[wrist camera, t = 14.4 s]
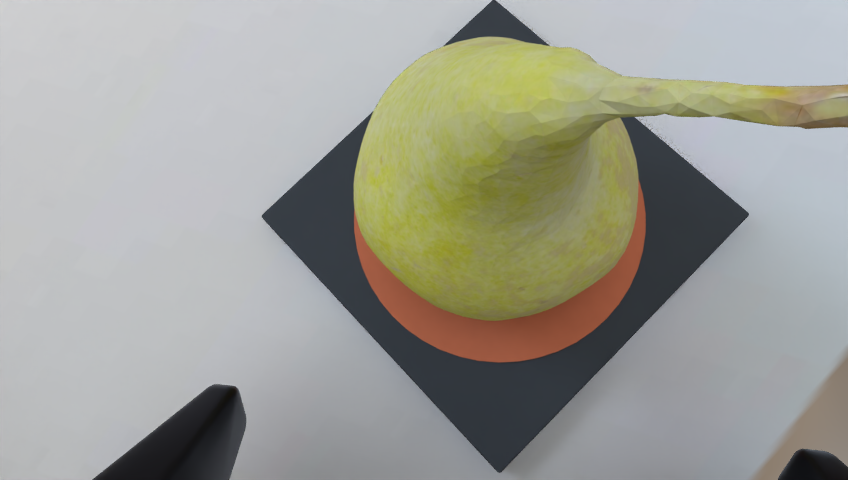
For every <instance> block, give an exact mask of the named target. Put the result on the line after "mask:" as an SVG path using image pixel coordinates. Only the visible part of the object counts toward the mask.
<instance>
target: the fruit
mask: <svg viewBox="0 0 848 480" xmlns="http://www.w3.org/2000/svg"><path fill="white" fill-rule="evenodd" d="M661 114H668V115H673V116H680V117H712V116H715V117H721V118H727V119H734V120H740V121H746V122H753V123H760V124H767V125H774V126H792V127H802V128H805V129H811V128H830V127H848V85H832V86H788V87H784V86H759V85H742V84H735V83H728V82H712V81H695V80H668V79H655V78H642V77H627V76H622V75H620V74H618V73H616V72H614V71H612V70H610V69H608V68H605V67H603V66H601V65H599V64H598V63H596V62H595V61H594V60H593V59H592V58H591V57H590V56H589V55H587V54H586V53H584V52H582V51H580V50H578V49H574V48H571V47H567V48H559V47H552V46H546V45H542V44H534V43H526V42H523V41H519V40H516V39H511V38H504V37H478V38H474V39H469V40H464V41H459V42H456V43H453V44H450V45H446V46H443V47H441V48H439V49H436V50H434V51H431V52H429V53H427V54H426V55H424V56H422V57H421V58H419V59H418V60H416V61H415V62H414V63H413V64H411V65H410V66H409V67H408V68H407V69H405V70H404V71H403V72H402V73H401V74H400V75H399V76H398V77H397V78H396V79H395V80H394V81H393V82H392V83H391V85H390V86H389V87H388V89H387V90H386V91H385V93H384V94H383V96H382V97H381V99H380V101H379V103H378V104H377V106H376V108H375V110H374V112H373V114H372V116H371V119H370V121H369V123H368V126H367V129H366V132H365V135H364V138H363V141H362V144H361V148H360V152H359V156H358V160H357V165H356V170H355V176H354V209H355V214H356V218H357V222H358V225H359V228H360V231H361V234H362V236H363V237H364V239H365V241H366V243H367V245H368V246H369V247H370V248H371V250H372V251H373V252H374V254H375V255H376V256H377V257H378V258H379V260H380V261H381V262H382V263H383V264H384V265H385V266H386V267H387V268H388V269H389V270H390V271H391V272H392V273H393V274H394V275H395V276H396V277H397V278H398V279H399V280H400V281H401V282H402V283H403V284H405V285H406V286H407V287H408V288H410V289H411V290H412V291H413V292H415V293H416V294H417V295H419V296H420V297H422V298H423V299H425V300H426V301H428V302H429V303H431V304H432V305H434V306H436V307H438V308H441V309H443V310H445V311H448V312H451V313H454V314H456V315H460V316H463V317H468V318H473V319H479V320H487V321H499V320H507V319H514V318H519V317H524V316H530V315H533V314H537V313H540V312H543V311H546V310H548V309H551V308H553V307H555V306H557V305H559V304H561V303H563V302H565V301H567V300H568V299H570V298H572V297H574V296H575V295H577V294H579V293H580V292H582V291H583V290H585V289H586V288H588V287H589V286H591V285H592V284H594V283H595V282H597V281H598V280H599V279H601V278H602V277H603V276H605V275H606V274H607V273H608V272H609V271H610V270H611V269H612V268H613V267H614V266H615V265H616V264H617V262H618V261H619V259H620V258H621V256H622V255H623V253H624V252H625V250H626V248H627V245H628V243H629V241H630V238H631V235H632V232H633V228H634V224H635V220H636V213H637V203H638V169H637V162H636V157H635V154H634V151H633V147H632V144H631V141H630V138H629V135H628V132H627V130H626V128H625V126H624V124H623V122H622V120H621V118H620V117H639V116H657V115H661Z"/></svg>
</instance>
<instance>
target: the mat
mask: <svg viewBox="0 0 848 480" xmlns="http://www.w3.org/2000/svg"><path fill="white" fill-rule="evenodd" d="M478 37H504V38H511V39H516V40H519V41H523V42H526V43H534V44H542V45H546V46H549V45H548V44H547V43H545V42H544V41H543V40H542V39H541V38H539V37H538V36H537V35H536V34H535V33H534V32H532V31H531V30H530V29H529V28H528V27H526V26H525V25H524V24H523V23H522V22H520V21H519V20H518V19H517V18H516V17H515V16H513V15H512V14H511V13H510V12H509V11H507V10H506V9H505V8H504V7H503V6H501V5H500V4H499V3H498V2H497V1H495V0H492V1H491V2H490V3H489V4H488V5H487V6H486V7H485V8H484V9H483V10H482V11H481V12H480V13H478V14H477V15H476V16H475V17H474V18H473V19H472V20H471V21H470V22H469V23H468V24H467V25H466V26H465V27H463V28H462V29H461V30H460V31H459V32H458V33H457V34H456V35H455V36H454V37H453V38H452V39H451V40H449V41H448V42H447V43H446V44H445V45H444V46H446V45H450V44H453V43H456V42H459V41H464V40H469V39H474V38H478ZM373 112H374V111H373ZM373 112H372V113H371V114H370V115H369V116H368V117H367V118H366V119H365V120H364V121H363V122H361V123H360V124H359V125H358V126H357V127H356V128H355V129H354V130H353V131H352V132H351V133H350V134H349V135H348V136H346V137H345V138H344V139H343V140H342V141H341V142H340V143H339V144H338V145H337V146H336V147H335V148H334V149H332V150H331V151H330V152H329V153H328V154H327V155H326V156H325V157H324V158H323V159H322V160H321V161H320V162H319V163H317V164H316V165H315V166H314V167H313V168H312V169H311V170H310V171H309V172H308V173H307V174H306V175H305V176H304V177H302V178H301V179H300V180H299V181H298V182H297V183H296V184H295V185H294V186H293V187H292V188H291V189H290V190H288V191H287V192H286V193H285V194H284V195H283V196H282V197H281V198H280V199H279V200H278V201H277V202H276V203H275V204H273V205H272V206H271V207H270V208H269V209H268V210H267V211H266V212H265V213H264V214H263V215H262V218H263V219H264V220H265V221H266V222H267V223H268V224H269V226H270V227H271V228H272V229H273V230H274V231H275V232H276V233H277V234H278V235H279V236H280V237H281V238H282V240H283V241H284V242H285V243H286V244H287V245H288V246H289V247H290V248H291V249H292V250H293V251H294V253H295V254H296V255H297V256H298V257H299V258H300V259H301V260H302V261H303V262H304V263H305V264H306V265H307V267H308V268H309V269H310V270H311V271H312V272H313V273H314V274H315V275H316V276H317V277H318V278H319V280H320V281H321V282H322V283H323V284H324V285H325V286H326V287H327V288H328V289H329V290H330V291H331V292H332V294H333V295H334V296H335V297H336V298H337V299H338V300H339V301H340V302H341V303H342V304H343V305H344V307H345V308H346V309H347V310H348V311H349V312H350V313H351V314H352V315H353V316H354V317H355V318H356V319H357V321H358V322H359V323H360V324H361V325H362V326H363V327H364V328H365V329H366V330H367V331H368V332H369V334H370V335H371V336H372V337H373V338H374V339H375V340H376V341H377V342H378V343H379V344H380V345H381V347H382V348H383V349H384V350H385V351H386V352H387V353H388V354H389V355H390V356H391V357H392V358H393V359H394V361H395V362H396V363H397V364H398V365H399V366H400V367H401V368H402V369H403V370H404V371H405V372H406V374H407V375H408V376H409V377H410V378H411V379H412V380H413V381H414V382H415V383H416V384H417V385H418V386H419V388H420V389H421V390H422V391H423V392H424V393H425V394H426V395H427V396H428V397H429V398H430V399H431V401H432V402H433V403H434V404H435V405H436V406H437V407H438V408H439V409H440V410H441V411H442V412H443V413H444V415H445V416H446V417H447V418H448V419H449V420H450V421H451V422H452V423H453V424H454V425H455V426H456V428H457V429H458V430H459V431H460V432H461V433H462V434H463V435H464V436H465V437H466V438H467V439H468V440H469V442H470V443H471V444H472V445H473V446H474V447H475V448H476V449H477V450H478V451H479V452H480V453H481V455H482V456H483V457H484V458H485V459H486V460H487V461H488V462H489V463H490V464H491V465H492V466H493V467H494V469H495V470H496V471H497V472H499V473H500V472H502V471H503V470H504V469H505V468H506V466H507V465H508V464H509V463H510V462H511V461H512V460H513V459H514V458H515V457H516V456H517V455H518V454H519V453H520V452H521V451H522V450H523V449H524V448H525V447H526V446H527V445H528V444H529V443H530V442H531V441H532V440H533V438H534V437H535V436H536V435H537V434H538V433H539V432H540V431H541V430H542V429H543V428H544V427H545V426H546V425H547V424H548V423H549V422H550V421H551V420H552V419H553V418H554V417H555V416H556V415H557V414H558V413H559V412H560V410H561V409H562V408H563V407H564V406H565V405H566V404H567V403H568V402H569V401H570V400H571V399H572V398H573V397H574V396H575V395H576V394H577V393H578V392H579V391H580V390H581V389H582V388H583V387H584V386H585V385H586V384H587V383H588V381H589V380H590V379H591V378H592V377H593V376H594V375H595V374H596V373H597V372H598V371H599V370H600V369H601V368H602V367H603V366H604V365H605V364H606V363H607V362H608V361H609V360H610V359H611V358H612V357H613V356H614V355H615V353H616V352H617V351H618V350H619V349H620V348H621V347H622V346H623V345H624V344H625V343H626V342H627V341H628V340H629V339H630V338H631V337H632V336H633V335H634V334H635V333H636V332H637V331H638V330H639V329H640V328H641V327H642V325H643V324H644V323H645V322H646V321H647V320H648V319H649V318H650V317H651V316H652V315H653V314H654V313H655V312H656V311H657V310H658V309H659V308H660V307H661V306H662V305H663V304H664V303H665V302H666V301H667V300H668V299H669V297H670V296H671V295H672V294H673V293H674V292H675V291H676V290H677V289H678V288H679V287H680V286H681V285H682V284H683V283H684V282H685V281H686V280H687V279H688V278H689V277H690V276H691V275H692V274H693V273H694V272H695V271H696V270H697V268H698V267H699V266H700V265H701V264H702V263H703V262H704V261H705V260H706V259H707V258H708V257H709V256H710V255H711V254H712V253H713V252H714V251H715V250H716V249H717V248H718V247H719V246H720V245H721V244H722V243H723V242H724V240H725V239H726V238H727V237H728V236H729V235H730V234H731V233H732V232H733V231H734V230H735V229H736V228H737V227H738V226H739V225H740V224H741V223H742V222H743V221H744V220H745V219H746V218H747V217H748V215H749V213H748V212H747V211H745V210H744V209H743V208H742V207H741V206H739V205H738V204H737V203H736V202H735V201H733V200H732V199H731V198H730V197H729V196H728V195H726V194H725V193H724V192H723V191H722V190H720V189H719V188H718V187H717V186H716V185H714V184H713V183H712V182H711V181H710V180H708V179H707V178H706V177H705V176H704V175H703V174H701V173H700V172H699V171H698V170H697V169H695V168H694V167H693V166H692V165H691V164H689V163H688V162H687V161H686V160H685V159H684V158H682V157H681V156H680V155H679V154H678V153H676V152H675V151H674V150H673V149H672V148H670V147H669V146H668V145H667V144H666V143H664V142H663V141H662V140H661V139H660V138H659V137H657V136H656V135H655V134H654V133H653V132H651V131H650V130H649V129H648V128H647V127H645V126H644V125H643V124H642V123H641V122H639V121H638V120H637V119H636V118H635V117H620V118H621V120H622V122H623V124H624V126H625V128H626V130H627V132H628V135H629V138H630V141H631V144H632V147H633V151H634V154H635V157H636V162H637V169H638V203H637V213H636V220H635V224H634V228H633V232H632V235H631V238H630V241H629V243H628V245H627V248H626V250H625V252H624V253H623V255H622V256H621V258H620V259H619V261H618V262H617V264H616V265H615V266H614V267H613V268H612V269H611V270H610V271H609V272H608V273H607V274H606V275H605V276H603V277H602V278H601V279H599V280H598V281H597V282H595V283H594V284H592V285H591V286H589V287H588V288H586V289H585V290H583V291H582V292H580V293H579V294H577V295H575V296H574V297H572V298H570V299H568V300H567V301H565V302H563V303H561V304H559V305H557V306H555V307H553V308H551V309H548V310H546V311H543V312H540V313H537V314H533V315H530V316H524V317H519V318H514V319H507V320H499V321H487V320H479V319H473V318H468V317H463V316H460V315H456V314H454V313H451V312H448V311H445V310H443V309H441V308H438V307H436V306H434V305H432V304H431V303H429V302H428V301H426V300H425V299H423V298H422V297H420V296H419V295H417V294H416V293H415V292H413V291H412V290H411V289H410V288H408V287H407V286H406V285H405V284H403V283H402V282H401V281H400V280H399V279H398V278H397V277H396V276H395V275H394V274H393V273H392V272H391V271H390V270H389V269H388V268H387V267H386V266H385V265H384V264H383V263H382V262H381V261H380V260H379V258H378V257H377V256H376V255H375V254H374V252H373V251H372V250H371V248H370V247H369V246H368V245H367V243H366V241H365V239H364V237H363V236H362V234H361V231H360V228H359V225H358V222H357V218H356V214H355V209H354V176H355V170H356V165H357V160H358V156H359V152H360V148H361V144H362V141H363V138H364V135H365V132H366V129H367V126H368V123H369V121H370V119H371V116H372V114H373Z"/></svg>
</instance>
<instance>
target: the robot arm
mask: <svg viewBox="0 0 848 480" xmlns="http://www.w3.org/2000/svg"><path fill="white" fill-rule="evenodd" d="M245 427H246V414H245V411H244V407H243V403H242V400H241V396H240V392H239V390H238V389H237V388H236V387H235V386H230V385H220V384H215V385H212V386H210V387H208V388H207V389H206V390H204V391H203V392H202V393H201V394H199V395H198V396H197V397H196V398H194V399H193V400H192V401H191V402H189V403H188V404H187V405H186V406H184V407H183V408H182V409H181V410H179V411H178V412H177V413H175V414H174V415H173V416H172V417H170V418H169V419H168V420H167V421H165V422H164V423H163V424H162V425H160V426H159V427H158V428H157V429H155V430H154V431H153V432H152V433H150V434H149V435H148V436H147V437H145V438H144V439H143V440H142V441H140V442H139V443H138V444H137V445H135V446H134V447H133V448H132V449H130V450H129V451H128V452H126V453H125V454H124V455H123V456H121V457H120V458H119V459H118V460H116V461H115V462H114V463H113V464H111V465H110V466H109V467H108V468H106V469H105V470H104V471H103V472H101V473H100V474H99V475H98V476H96V477H95V478H94V479H93V480H229V479H230V476H231V472H232V469H233V466H234V463H235V460H236V457H237V454H238V450H239V447H240V444H241V441H242V438H243V435H244V431H245ZM778 480H848V467H847V466H846V465H845V464H844V463H842V461H840V460H839V459H838V458H837V457H836V456H834V455H833V454H831V453H829V452H825V451H818V450H810V449H800V450H798V451H796V452H795V453H794V455H793V456H792V458H791V459H790V461H789V463H788V464H787V466H786V467H785V468H784V470H783V471H782V473H781V474H780V476H779V478H778Z"/></svg>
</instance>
